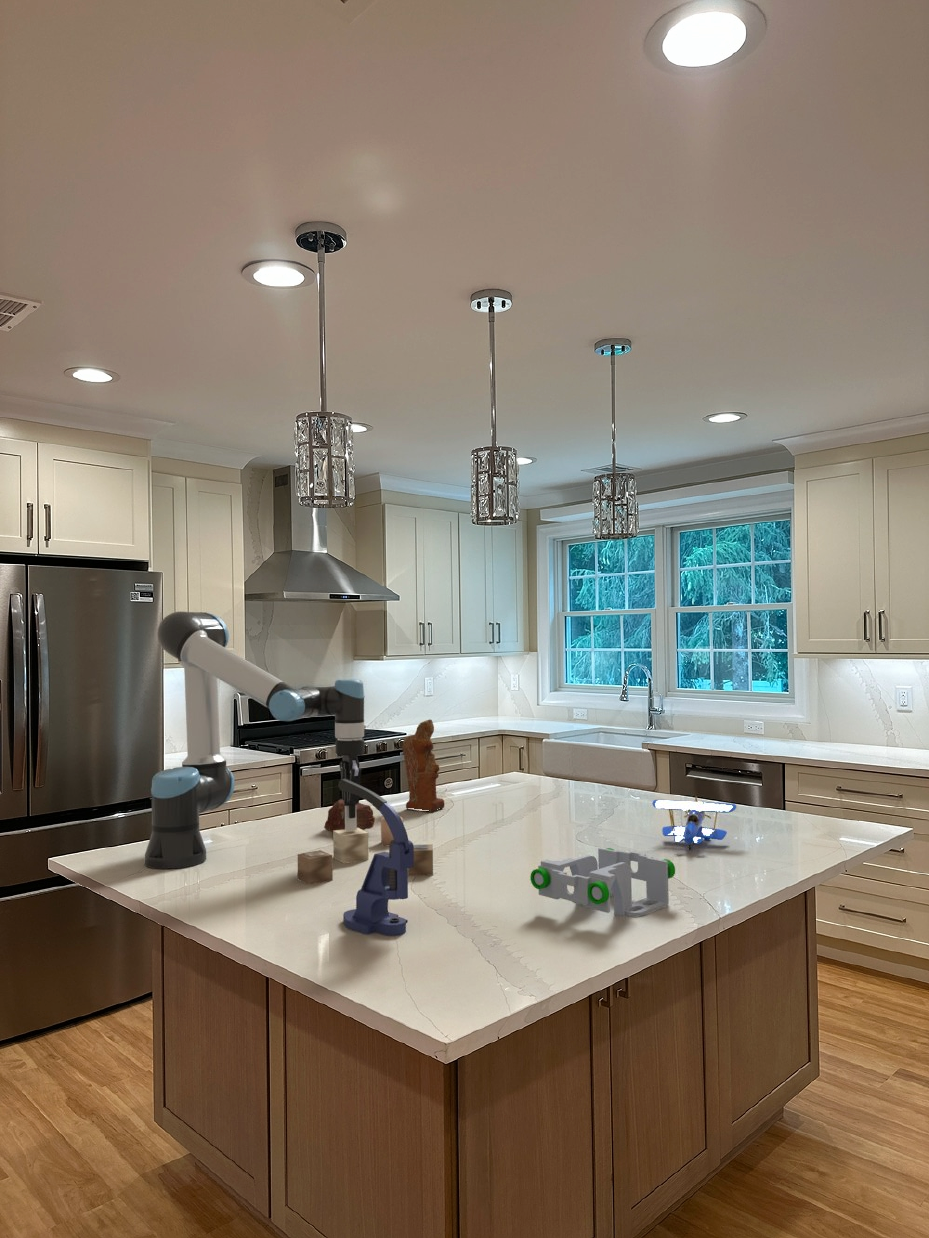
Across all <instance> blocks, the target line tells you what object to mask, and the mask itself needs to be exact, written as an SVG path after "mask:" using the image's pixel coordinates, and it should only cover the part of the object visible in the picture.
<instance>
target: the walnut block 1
mask: <svg viewBox="0 0 929 1238" xmlns="http://www.w3.org/2000/svg"><path fill="white" fill-rule="evenodd" d="M333 871H334V870H333V854H331V853H329V852H325V851H323V850H315V851H309V852H304V853H303V852H302V853H298V854H297V880H298V879H299V880H298V881H300V880H301V881H300V882H302V881H303V883H304V882H305V884H307V885H308V886H309V885H310V886H311V885H315V884H316V885H317V884H320V883H326V882H331V881H333V880H334V878H333V875H334V874H333Z"/></svg>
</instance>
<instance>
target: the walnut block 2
mask: <svg viewBox="0 0 929 1238" xmlns="http://www.w3.org/2000/svg"><path fill="white" fill-rule="evenodd" d="M413 846H414V867H411V868H408V877H409V876H411V877H413V876H434V862H433V861H434V848H433V847H434V846H433V844H430V843H429V844H428V843H427V844H413Z"/></svg>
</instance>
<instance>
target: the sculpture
mask: <svg viewBox="0 0 929 1238" xmlns="http://www.w3.org/2000/svg"><path fill="white" fill-rule="evenodd" d="M434 732H435V725H434V721H433V720H432V719H426V720H424V721H422V722H420V723H419V724H418V726H417V728H416V731H415V733H414V734H410V735H408V736H406V738H405V739H403V741H402V742H401V750H402V755H403V758H404V765H405V770H406V776H407V787H408V792H409V794H408V795H409V798H408V799H409V800H407V802H406V804H405V809H406V808H414V809H422V810H429V811H433V812H435V811H434V810H436V811H438V810H437V809H439V808H442V809H444V808H445V800H444V799H443V798H439V797H437V784H436V783H437V782H436V781H437V779H438V778H439V775H440V774H439V771H440V765H439V764H437V762H436V756H435V754H434V753H433V752H432V751H433V750H434V743H433V741H432V740H431V738H432V735H433V733H434ZM439 810H440V809H439Z"/></svg>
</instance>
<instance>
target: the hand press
mask: <svg viewBox="0 0 929 1238" xmlns="http://www.w3.org/2000/svg"><path fill="white" fill-rule="evenodd" d="M338 788H339V790H340V791H341V792H342V791H345V792H348V793H352V794H355V795H358V796H359V798H362V799H363V800H365V801H367V802H368V803H370V805H372V806H373V807H374V808H375V809H376V810H377V811H379V812H380V814H381V815H382V817H384V819H385V820H386V822H387V824H388V826H389V828H390V831H391V833H392V836H393V838H394V840H391V841H390V843H389V846H388V848H389V849H388V851H389V852H388V851H382V852H377V853H374V854H373V857H372V859H371V862H370V865H369V867H368V870H367V872H366V875H365V877H364V879H363V883H362V885H361V888H360V889H359V890H358V891H357V893H356V895H355V896H356V898H355V899H356V900H355V901H356V903H355V904H356V905H355V906H356V907H355V908H353V909H350V910H346V911H344V912H343V913H342V915H343V917H342V919H343V925H344V927H345V928H346V929H348V930H350V931H353V932H357V933H360V934H362V935H367V936H368V935H371V934H375V933H376V934H379V935H383V936H387V937H398V936H403V935H404V934H406V933H407V924H408V922H409V921H408V919H407V918H405V917H401V916H399V914H397V913H393V912H390V911H389V910H388V909H389V901H390V900H393V901H394V900H395V901H396V900H406V899H409V881H408V880H409V879H408V878H409V876H408V868H411V867H414V846H413V845H414V843H413V841H411V840H409V838H408V833H407V829H406V827H405V825H404V822H402V820H401V818H400V817H401V816H400V815H399V813H398V812H397V811H396V810H395V808H394V807H393V806H392V805H390V804H389V802H388V801H387V800H386V799H384V798H383V797H382V796H380V795H379V794H378V793H376V792H374V791H372V790H371V789H368V788H366V787H365V786H363V785H361V784H360V785H358V784H356V783H354V782H352V781H349V780H347V779H341V778H340V779H339V780H338Z"/></svg>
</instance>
